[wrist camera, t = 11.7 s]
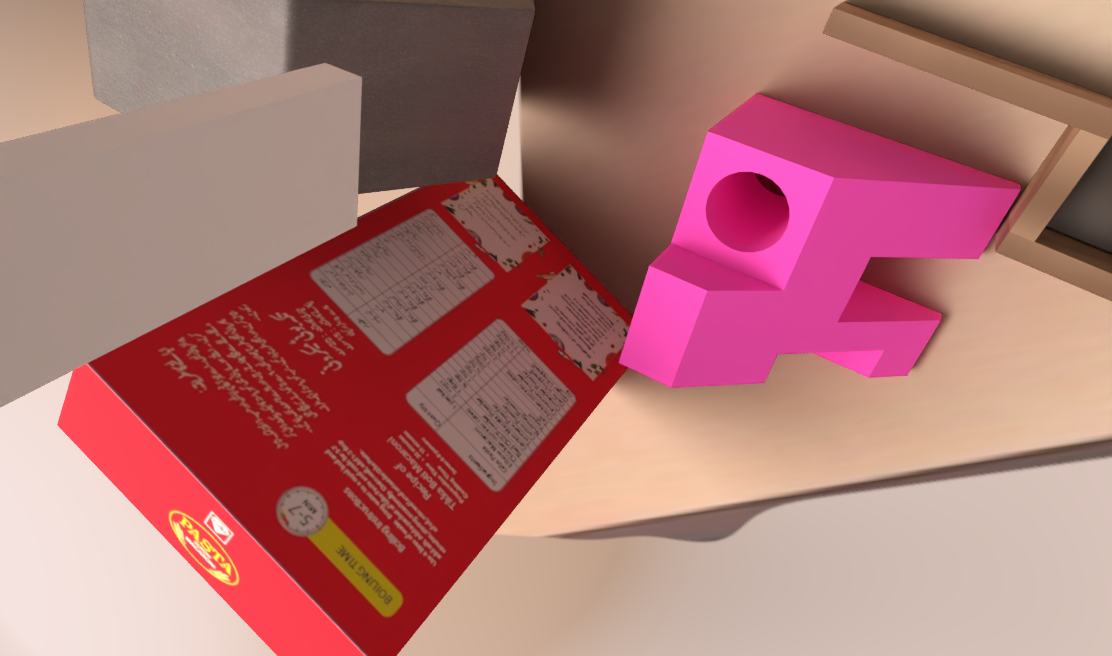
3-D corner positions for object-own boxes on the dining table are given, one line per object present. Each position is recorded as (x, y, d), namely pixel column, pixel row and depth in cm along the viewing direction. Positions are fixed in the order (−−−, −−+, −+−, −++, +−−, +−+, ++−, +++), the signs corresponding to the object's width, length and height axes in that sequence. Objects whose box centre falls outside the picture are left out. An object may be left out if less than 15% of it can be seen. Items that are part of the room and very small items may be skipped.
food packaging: (440, 213, 48) (57, 424, 28) (480, 157, 44) (77, 354, 25) (599, 380, 48) (325, 706, 28) (652, 337, 44) (382, 673, 25)
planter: (199, -5, 42) (30, 158, 26) (195, -161, 38) (-12, -77, 22) (491, 64, 46) (498, 243, 30) (520, -71, 42) (546, 56, 26)
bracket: (692, 274, 41) (618, 362, 33) (757, 92, 35) (686, 147, 27) (908, 367, 38) (883, 490, 30) (1020, 183, 32) (1026, 276, 24)
